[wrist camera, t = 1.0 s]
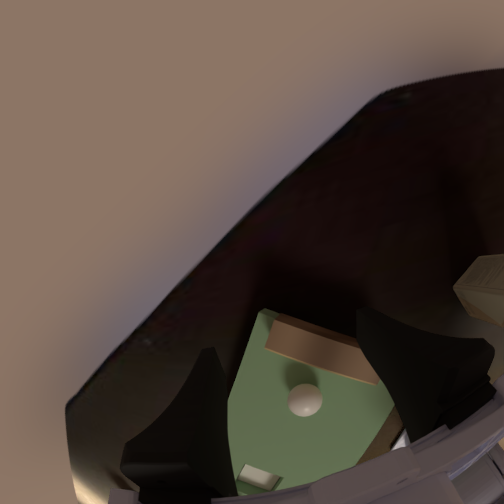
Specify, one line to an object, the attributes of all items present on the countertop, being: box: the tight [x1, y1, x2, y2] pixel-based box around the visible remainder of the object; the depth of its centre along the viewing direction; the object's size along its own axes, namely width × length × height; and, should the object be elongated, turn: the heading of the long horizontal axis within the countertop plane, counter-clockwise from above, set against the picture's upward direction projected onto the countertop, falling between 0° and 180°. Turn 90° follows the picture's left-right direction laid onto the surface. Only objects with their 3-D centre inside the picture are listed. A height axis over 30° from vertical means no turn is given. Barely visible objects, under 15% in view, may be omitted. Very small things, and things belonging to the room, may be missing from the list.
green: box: [228, 308, 395, 496], centre depth 21 cm, size 16×28×9 cm, turn 161°
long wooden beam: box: [264, 313, 380, 386], centre depth 21 cm, size 10×3×3 cm, turn 71°
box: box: [453, 254, 504, 328], centre depth 16 cm, size 5×4×11 cm
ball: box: [287, 384, 323, 417], centre depth 22 cm, size 3×3×3 cm
